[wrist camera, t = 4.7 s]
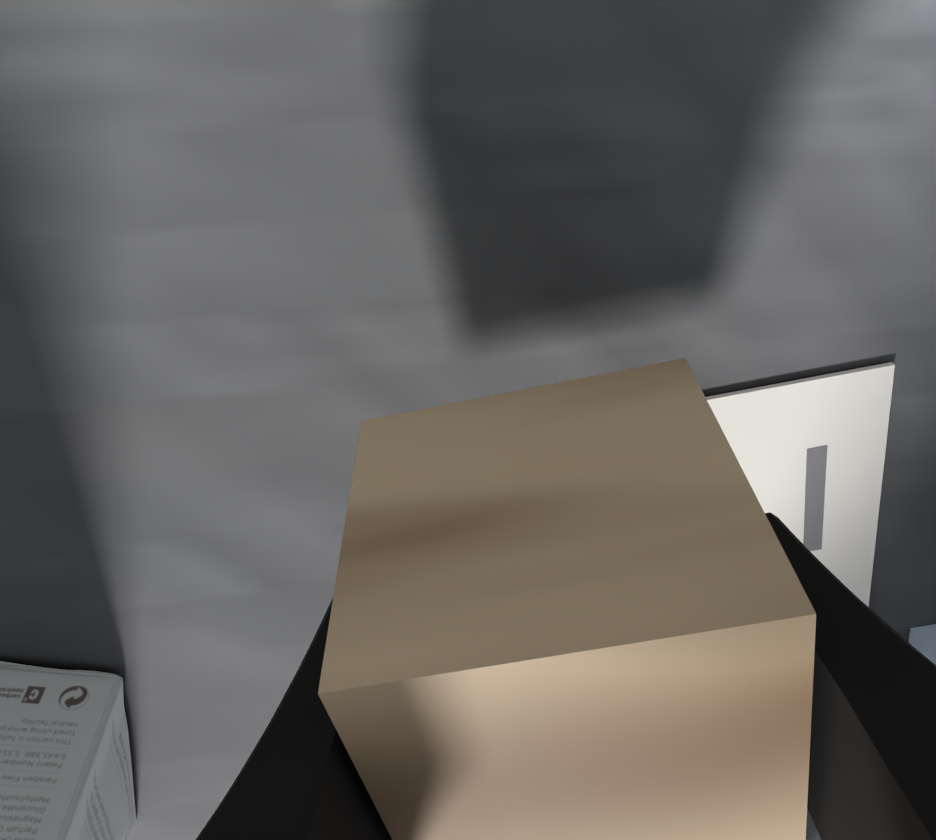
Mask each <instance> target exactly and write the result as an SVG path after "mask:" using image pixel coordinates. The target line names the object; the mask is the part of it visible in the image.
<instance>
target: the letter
mask: <svg viewBox="0 0 936 840" xmlns="http://www.w3.org/2000/svg"><path fill="white" fill-rule="evenodd" d="M894 368H895V364H894V363H893V362H889V363H883V364H878V365H873V366H867V367H862V368H857V369H852V370H846V371H841V372H836V373H830V374H825V375H820V376H814V377H809V378H804V379H798V380H793V381H788V382H782V383H777V384H772V385H767V386H761V387H756V388H751V389H745V390H740V391H735V392H729V393H724V394H719V395H713V396H708V397H706V399H707V401H708V403H709V405H710V407H711V409H712V411H713V413H714V415H715V417H716V419H717V421H718V423H719V425H720V427H721V429H722V431H723V433H724V435H725V437H726V438H727V440H728V442H729V444H730V446H731V448H732V450H733V452H734V454H735V456H736V458H737V460H738V462H739V464H740V466H741V468H742V470H743V472H744V474H745V476H746V478H747V480H748V481H749V483H750V485H751V487H752V489H753V491H754V493H755V495H756V497H757V499H758V501H759V503H760V505H761V507H762V509H763V511H764V513H770V512H771V513H772V514H774V515H775V516H777V517H778V518H779V519H780V520H781V521H782V522H783V523H784V524H785V525H786V527H787V528H788V529H789V530H790V531H791V532H792V533H793V534H794V535H795V536H796V537H797V538H798V539H799V540H800V541H801V542H802V543H803V544H804V546H805V547H806V548H807V549H808V550H809V551H810V552H811V553H812V554H813V555H814V556H815V557H816V558H817V559H818V560H819V561H820V562H821V563H822V564H823V565H824V566H825V567H826V568H827V569H828V570H829V571H830V572H832V573H833V574H834V575H835V576H836V577H837V578H838V579H839V580H840V581H841V582H842V583H843V584H844V585H845V586H846V587H847V588H848V589H849V590H850V591H851V592H852V593H853V594H855V595H856V596H857V597H858V598H859V599H860V600H861V601H862V602H863V603H864V604H866V605H867V606H868V607H869V598H870V589H871V580H872V570H873V561H874V552H875V543H876V534H877V524H878V515H879V506H880V497H881V488H882V478H883V469H884V460H885V451H886V442H887V432H888V423H889V414H890V405H891V396H892V387H893V377H894Z"/></svg>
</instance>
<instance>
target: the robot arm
mask: <svg viewBox="0 0 936 840" xmlns="http://www.w3.org/2000/svg"><path fill="white" fill-rule="evenodd" d="M765 515H766V517H767V519H768V521H769V522H770V524H771V526H772V528H773V530H774V532H775V534H776V536H777V538H778V540H779V542H780V544H781V546H782V548H783V550H784V552H785V554H786V556H787V558H788V560H789V562H790V564H791V565H792V567H793V569H794V571H795V573H796V575H797V577H798V579H799V581H800V583H801V585H802V587H803V589H804V591H805V593H806V595H807V597H808V599H809V601H810V603H811V605H812V607H813V608H814V610H815V612H816V632H815V653H814V674H813V695H812V717H811V738H810V759H809V780H808V801H807V808H808V810H809V812H810V815H811V817H812V819H813V821H814V824H815V826H816V828H817V830H818V832H819V835H820V837H821V840H936V665H935V664H934V663H933V662H931V661H930V660H929V659H928V658H926V657H925V656H924V655H923V654H922V653H920V652H919V651H918V650H917V649H916V648H914V647H913V646H912V645H911V644H910V643H908V642H907V641H906V640H905V639H904V638H903V637H901V636H900V635H899V634H898V633H897V632H896V631H894V630H893V629H892V628H891V627H890V626H889V625H888V624H887V623H886V622H884V621H883V620H882V619H881V618H880V617H879V616H878V615H877V614H876V613H874V612H873V611H872V610H871V609H870V608H869V607H868V606H867V605H866V604H864V603H863V602H862V601H861V600H860V599H859V598H858V597H857V596H856V595H855V594H853V593H852V592H851V591H850V590H849V589H848V588H847V587H846V586H845V585H844V584H843V583H842V582H841V581H840V580H839V579H838V578H837V577H836V576H835V575H834V574H833V573H832V572H830V571H829V570H828V569H827V568H826V567H825V566H824V565H823V564H822V563H821V562H820V561H819V560H818V559H817V558H816V557H815V556H814V555H813V554H812V553H811V552H810V551H809V550H808V549H807V548H806V547H805V546H804V544H803V543H802V542H801V541H800V540H799V539H798V538H797V537H796V536H795V535H794V534H793V533H792V532H791V531H790V530H789V529H788V528H787V527H786V525H785V524H784V523H783V522H782V521H781V520H780V519H779V518H778V517H777V516H775V515H774V514H772V513H771V512H770V513H765ZM332 602H333V599H332V601H331V603H330V605H329V607H328V609H327V612H326V614H325V616H324V618H323V620H322V622H321V624H320V626H319V628H318V631H317V633H316V635H315V637H314V639H313V641H312V643H311V645H310V647H309V649H308V651H307V653H306V655H305V657H304V659H303V661H302V663H301V665H300V667H299V669H298V671H297V673H296V675H295V677H294V678H293V680H292V682H291V684H290V686H289V688H288V690H287V692H286V693H285V695H284V697H283V699H282V701H281V703H280V705H279V707H278V708H277V710H276V712H275V714H274V716H273V718H272V719H271V721H270V723H269V725H268V726H267V728H266V730H265V732H264V733H263V735H262V737H261V738H260V740H259V742H258V743H257V745H256V747H255V748H254V750H253V752H252V753H251V755H250V757H249V758H248V760H247V762H246V763H245V765H244V767H243V769H242V770H241V772H240V774H239V775H238V777H237V778H236V780H235V782H234V783H233V785H232V786H231V788H230V789H229V791H228V793H227V794H226V796H225V797H224V799H223V800H222V802H221V803H220V805H219V806H218V808H217V809H216V811H215V812H214V814H213V815H212V817H211V818H210V820H209V821H208V823H207V824H206V826H205V827H204V828H203V830H202V831H201V833H200V834H199V836H198V837H197V839H196V840H392V838H391V836H390V834H389V832H388V830H387V828H386V826H385V824H384V822H383V821H382V819H381V817H380V815H379V813H378V811H377V809H376V807H375V805H374V803H373V801H372V799H371V797H370V795H369V793H368V791H367V789H366V787H365V785H364V783H363V781H362V779H361V777H360V775H359V773H358V771H357V769H356V768H355V766H354V764H353V762H352V760H351V758H350V756H349V754H348V752H347V750H346V748H345V746H344V744H343V742H342V740H341V738H340V736H339V734H338V732H337V730H336V728H335V726H334V724H333V722H332V720H331V718H330V717H329V715H328V713H327V711H326V709H325V707H324V705H323V703H322V701H321V699H320V697H319V695H318V690H319V683H320V677H321V671H322V665H323V658H324V652H325V646H326V640H327V633H328V627H329V621H330V615H331V608H332Z"/></svg>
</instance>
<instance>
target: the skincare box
mask: <svg viewBox="0 0 936 840" xmlns="http://www.w3.org/2000/svg"><path fill="white" fill-rule="evenodd" d="M135 825H136V810H135V799H134V786H133V775H132V764H131V754H130V744H129V733H128V726H127V720H126V715H125V709H124V697H123V679H122V677H120V676H118V675H116V674H112V673H106V672H99V671H87V670H63V669H54V668H45V667H37V666H30V665H22V664H16V663H11V662H4V661H0V840H131V836H132V833H133V830H134V828H135Z"/></svg>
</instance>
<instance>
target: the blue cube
mask: <svg viewBox="0 0 936 840" xmlns="http://www.w3.org/2000/svg"><path fill="white" fill-rule="evenodd" d="M908 643H910V644H911V645H912V646H913V647H914V648H916V649H917V650H918V651H919V652H920V653H922V654H923V655H924V656H925V657H926V658H928V659H929V660H930V661H931V662H933V663H934V664H935V665H936V624H934V625H927V626H921V627H914V628H910V634H909V640H908Z"/></svg>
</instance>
